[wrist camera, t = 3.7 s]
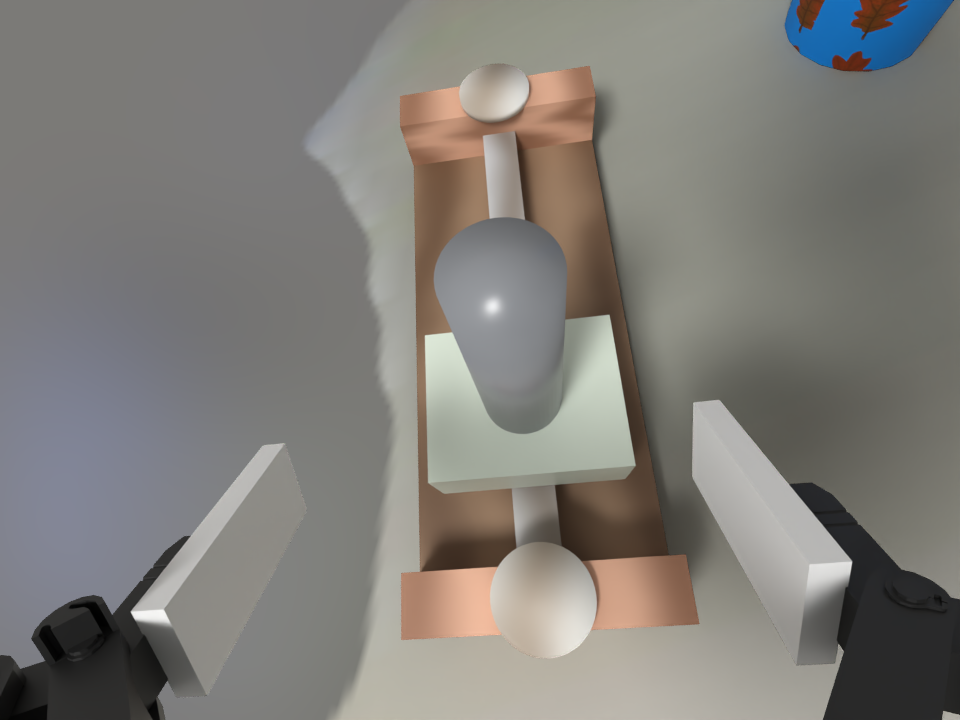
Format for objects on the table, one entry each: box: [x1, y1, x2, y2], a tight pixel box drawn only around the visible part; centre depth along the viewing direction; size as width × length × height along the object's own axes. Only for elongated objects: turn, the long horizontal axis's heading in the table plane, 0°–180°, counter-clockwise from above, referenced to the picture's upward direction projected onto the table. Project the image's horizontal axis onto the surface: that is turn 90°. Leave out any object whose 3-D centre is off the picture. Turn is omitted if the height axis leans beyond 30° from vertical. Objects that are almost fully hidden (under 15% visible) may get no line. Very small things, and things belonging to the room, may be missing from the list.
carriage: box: [425, 217, 636, 494], centre depth 23 cm, size 10×8×16 cm
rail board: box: [400, 64, 699, 658], centre depth 34 cm, size 14×38×7 cm, turn 3°
